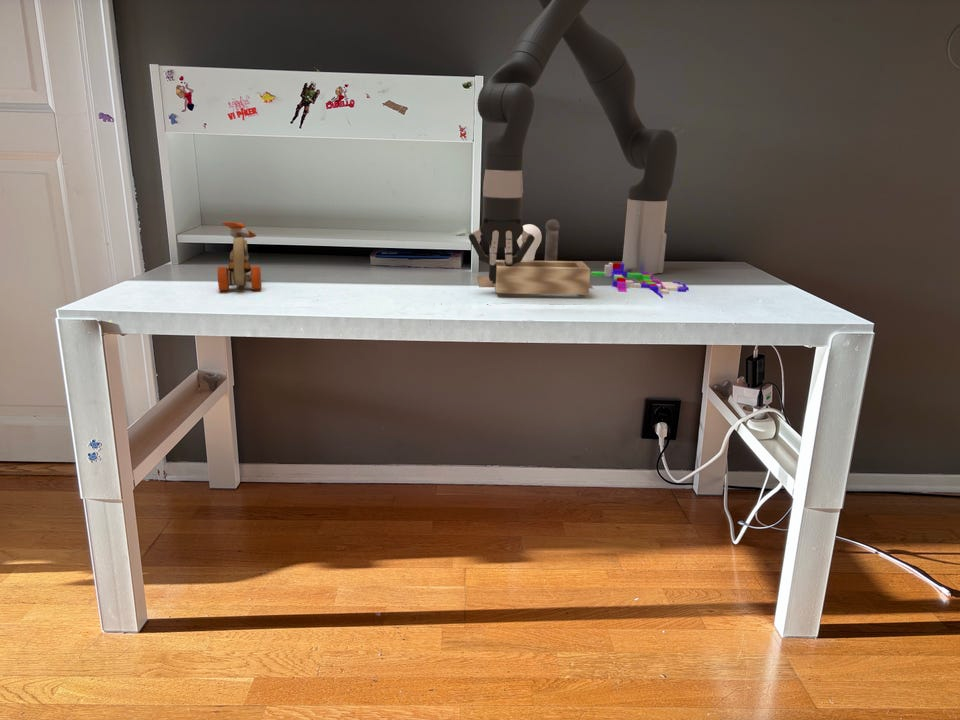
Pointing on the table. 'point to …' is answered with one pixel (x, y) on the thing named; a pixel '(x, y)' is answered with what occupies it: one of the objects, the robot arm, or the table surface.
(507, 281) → the open wooden box
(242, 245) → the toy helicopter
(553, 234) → the walnut post stand
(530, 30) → the robot arm
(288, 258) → the table surface
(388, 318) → the table surface
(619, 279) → the building block set
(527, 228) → the lightbulb
